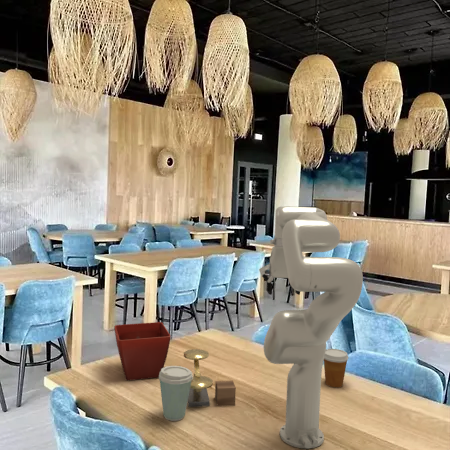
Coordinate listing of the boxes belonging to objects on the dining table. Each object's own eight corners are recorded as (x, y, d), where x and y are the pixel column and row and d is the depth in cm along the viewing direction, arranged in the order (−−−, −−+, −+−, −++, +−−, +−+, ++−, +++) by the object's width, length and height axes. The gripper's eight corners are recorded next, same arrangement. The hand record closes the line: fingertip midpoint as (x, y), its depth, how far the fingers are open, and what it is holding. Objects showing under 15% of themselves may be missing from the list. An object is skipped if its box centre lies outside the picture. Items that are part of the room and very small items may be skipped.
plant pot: (117, 386, 159) (118, 339, 158) (113, 366, 177) (114, 324, 176) (170, 380, 165) (171, 336, 164) (161, 362, 183) (162, 321, 182)
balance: (213, 409, 143) (214, 373, 143) (185, 410, 142) (186, 374, 141) (206, 380, 166) (207, 349, 165) (182, 381, 165) (183, 349, 164)
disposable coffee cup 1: (175, 405, 146) (176, 360, 145) (199, 416, 139) (200, 369, 138) (150, 416, 137) (151, 369, 136) (174, 429, 131) (176, 379, 130)
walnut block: (235, 405, 147) (235, 387, 146) (217, 406, 146) (217, 388, 146) (232, 397, 153) (232, 380, 152) (214, 397, 152) (215, 380, 152)
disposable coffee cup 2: (318, 385, 164) (319, 354, 164) (324, 376, 173) (326, 346, 172) (343, 391, 160) (345, 359, 159) (349, 382, 168) (351, 351, 168)
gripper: (263, 244, 144) (261, 296, 145) (314, 245, 146) (312, 296, 147) (258, 241, 151) (256, 291, 152) (307, 242, 154) (304, 291, 155)
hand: (283, 293), depth 150 cm, fingers open, 9 cm apart
